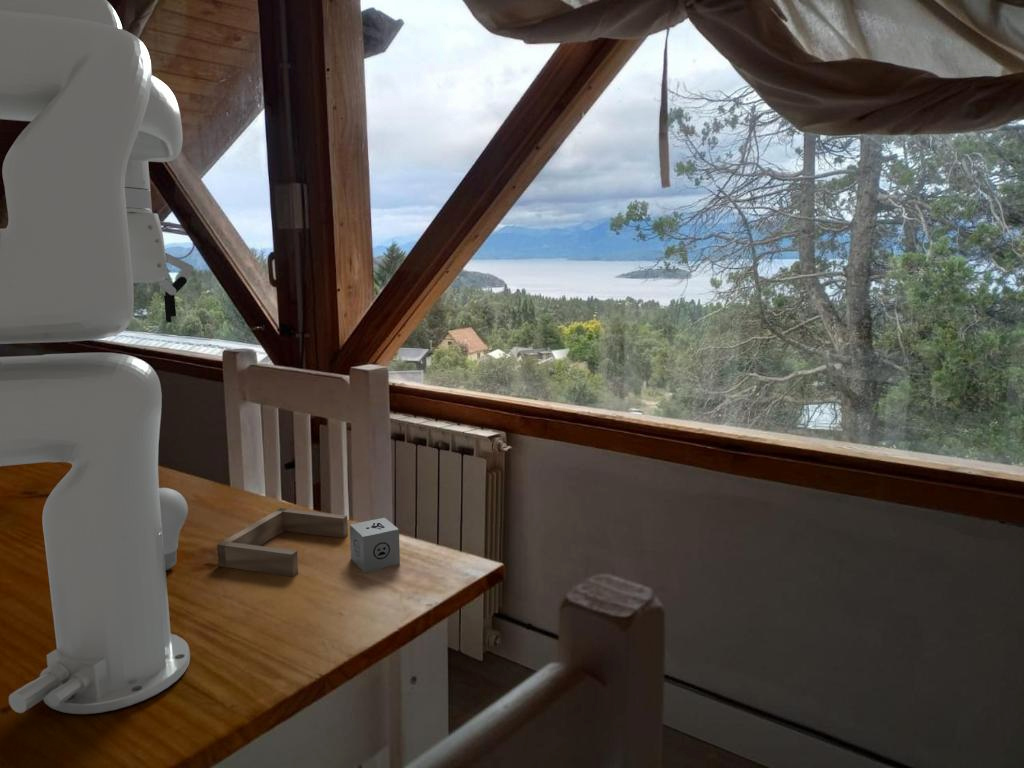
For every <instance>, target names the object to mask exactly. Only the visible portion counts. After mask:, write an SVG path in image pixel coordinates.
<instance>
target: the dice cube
mask: <svg viewBox="0 0 1024 768" xmlns="http://www.w3.org/2000/svg"><path fill="white" fill-rule="evenodd" d="M349 537H350V538H349V541H350V544H349V545H350V559H351V560H352V562H353V563H354V564H355V565H356V566H357V567H358V568H359V569H360V570H361V571H362V572H363V573H369V572H372V571H377V570H381V569H385V568H389V567H392V566H393V567H394V566H397V565H400V564H401V562H400V561H401V557H400V556H401V555H400V554H401V553H400V552H401V551H400V528H398V527H397V526H395V524H393V523H392V522H391V521H389V520H388V519H387V518H386V517H381V518H376V519H371V520H370V519H369V520H365V521H362V522H356V523H352V524H351V523H350V524H349Z"/></svg>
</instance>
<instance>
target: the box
mask: <svg viewBox="0 0 1024 768" xmlns="http://www.w3.org/2000/svg"><path fill="white" fill-rule="evenodd" d="M282 532H291V533H292V532H293V533H300V534H309V535H316V536H324V537H325V536H326V537H334V538H341V539H345V538H346V537H347V536H348V535H349V529H348V515H346V514H345V515H344V514H337V513H336V514H335V513H327V512H317V511H308V510H299V509H292V508H283V507H282V508H281V507H279V508H278V509H277V510H275V511H273V512H271V513H270V514H268V515H266V516H264V517H263V518H261V519H259V520H258V521H255V522H254V523H252V524H250V525H248V526H247V527H245V528H243V529H242V530H239V532H236V533H234V534H233V535H231V536H229V537H228V538H226V539H225V540H223V541H221V542H219V543H217V544H216V550H217V562H218V567H223V568H231V569H238V570H245V571H250V572H251V571H252V572H259V573H266V574H274V575H280V576H287V577H294V576H296V575H297V574H298V573H299V561H298V559H299V558H298V550H294V549H286V548H279V547H270V546H264V544H265V543H267V542H268V541H270V540H271V539H274V538H275V537H276V536H278V535H279V534H281V533H282Z"/></svg>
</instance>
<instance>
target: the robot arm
mask: <svg viewBox="0 0 1024 768" xmlns="http://www.w3.org/2000/svg"><path fill="white" fill-rule="evenodd" d="M152 71H153V70H152V62H151V57H150V53H149V51H148V49H147V47H146V45H145V44H144V42H143V41H142V40H141V39H139V37H137V36H136V35H134V34H133V33H131V32H129V31H127V30H126V29H123V26H122V23H121V20H120V17H119V16H118V14H117V12H116V10H115V9H114V7H113V5H112V4H111V3H110V2H109V1H108V0H0V120H7V121H18V122H19V121H20V122H29V123H28V124H27V126H26V127H25V128H24V129H23V130H22V131H21V133H19V135H18V136H17V138H16V139H15V140H14V142H13V144H11V147H10V148H9V150H8V152H7V153H6V155H5V158H4V160H3V163H2V169H1V171H2V180H3V186H4V193H5V200H6V201H5V202H6V209H7V214H8V215H7V217H8V221H7V226H6V228H0V345H2V344H3V345H4V344H7V345H8V344H32V343H33V344H34V343H36V344H37V343H38V344H39V343H63V342H65V343H66V342H67V343H68V342H83V341H94V340H101V339H106V338H110V337H115V336H117V335H119V334H122V333H123V332H125V330H126V329H127V328H128V327H129V326H130V323H131V322H132V320H133V314H134V308H135V307H134V306H135V305H134V304H135V303H134V301H135V293H134V290H135V289H134V284H137V283H138V284H140V283H141V284H144V283H146V284H147V283H148V284H149V283H150V284H151V283H152V284H153V283H157V284H158V285H159V286H160V287H161V288H162V289H163V290H164V291H165V292H164V293H165V294H164V296H163V297H164V310H165V312H164V313H165V322H167V323H172V317H177V312H176V311H177V310H176V299H175V298H176V297H175V295H176V294H177V293H178V292H179V291H180V290H181V289H182V288H183V287H184V286H186V284H187V283H188V280H189V278H190V276H191V274H192V272H193V270H194V266H193V265H192V264H190V263H188V262H186V261H184V260H182V259H179V258H178V257H175V256H173V255H171V254H169V253H167V252H166V249H165V241H164V239H165V238H164V235H163V229H162V224H161V220H160V217H159V214H158V213H155V212H153V207H152V205H153V204H152V196H151V194H152V193H151V181H150V180H151V179H150V170H149V169H150V168H149V162H152V163H153V162H154V163H166V162H167V163H168V162H171V161H172V162H173V161H174V160H176V159H177V158H178V157H179V155H180V154H181V152H182V149H183V148H182V147H183V141H184V138H183V125H182V117H181V112H180V107H179V104H178V101H177V98H176V96H175V94H174V92H173V91H172V90H171V89H170V87H169V86H168V85H167V84H166V83H164V82H163V81H162V80H161V79H159V78H158V77H156V76H154V75H153V72H152ZM167 264H169V265H171V266H173V267H176V268H178V269H179V270H180V273H179V276H178V278H177V279H176V280H175V281H174V282H172V283H171V282H170V281H169V280H168V279H167V275H168V266H167ZM162 398H163V394H162V387H161V381H160V378H159V376H158V374H157V372H156V371H155V369H154V368H153V367H152V366H151V365H150V364H149V363H147V361H144V360H143V359H140V358H138V357H136V356H132V355H129V354H125V353H124V354H123V353H117V352H98V351H97V352H76V353H75V352H73V353H72V352H71V353H49V354H48V353H47V354H42V355H21V356H20V355H17V356H16V355H14V356H0V467H4V466H5V467H6V466H8V467H9V466H16V465H17V466H18V465H29V464H30V465H31V464H38V463H39V464H41V463H69V464H71V468H70V470H68V472H67V473H66V474H65V475H64V476H63V478H62V479H61V480H60V481H59V482H57V484H56V485H55V487H54V488H53V489H52V491H51V492H50V494H49V495H48V497H47V499H46V500H45V504H44V506H43V510H42V515H41V516H42V519H41V520H42V521H41V523H42V532H43V538H44V539H43V541H44V548H45V549H44V550H45V556H46V557H45V558H46V565H47V574H48V582H49V583H48V584H49V591H50V601H51V609H52V619H53V625H54V627H53V628H54V634H55V644H56V649H54V650H51V652H49V653H47V654H46V656H45V657H46V664H47V667H46V668H44V669H42V670H41V671H40V673H39V677H38V678H36V679H34V680H31V681H30V682H28V683H26V684H24V685H22V686H21V687H20V688H17V689H16V690H15V691H13V692H12V693H10V694H9V696H8V704H9V705H10V707H11V709H12V710H13V711H14V712H16V713H18V714H23V713H25V712H26V711H28V710H30V709H31V708H32V707H34V706H35V705H37V704H38V703H40V702H41V701H43V702H44V704H45V705H46V706H48V707H49V708H50V709H52V710H55V711H58V712H62V713H66V714H72V715H89V714H90V715H91V714H102V713H106V712H112V711H116V710H119V709H123V708H127V707H130V706H133V705H135V704H139V703H141V702H144V701H145V700H148V699H150V698H153V697H154V696H157V695H158V694H161V692H163V691H164V690H167V689H168V688H169V687H171V686H172V685H173V684H174V683H175V682H177V681H178V680H179V679H180V678H181V677H182V675H184V673H185V672H186V671H187V668H188V667H189V665H190V661H191V653H190V646H189V644H188V642H187V641H186V640H185V639H184V638H182V637H180V636H178V635H177V634H173V633H172V632H171V621H170V610H169V608H170V607H169V598H168V596H169V595H168V585H167V572H166V571H167V570H165V559H164V547H163V535H162V523H161V509H160V497H159V488H160V485H159V482H160V481H159V480H160V479H159V448H160V447H159V441H160V431H161V421H162V419H161V418H162V408H163V407H162V405H163V403H162V402H163V401H162Z"/></svg>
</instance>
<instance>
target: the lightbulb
mask: <svg viewBox="0 0 1024 768" xmlns="http://www.w3.org/2000/svg"><path fill="white" fill-rule="evenodd" d="M159 497H160V509H161V523H162V535H163V547H164V559H165V571H169V570H170V569H171V568H173V567H174V566H175V565H176V564H177V563H178V561H177V559H178V557H177V556H178V554H177V550H178V548H179V536H180V533H181V530H182V529H183V527H184V524H185V522H186V519H187V517H188V512H189V508H188V507H189V506H188V503H187V500H186V498H185V497H184V496H183V495H182V494H181V493H180V492H178V491H177V490H174V489H172V488H169V487H159Z"/></svg>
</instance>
